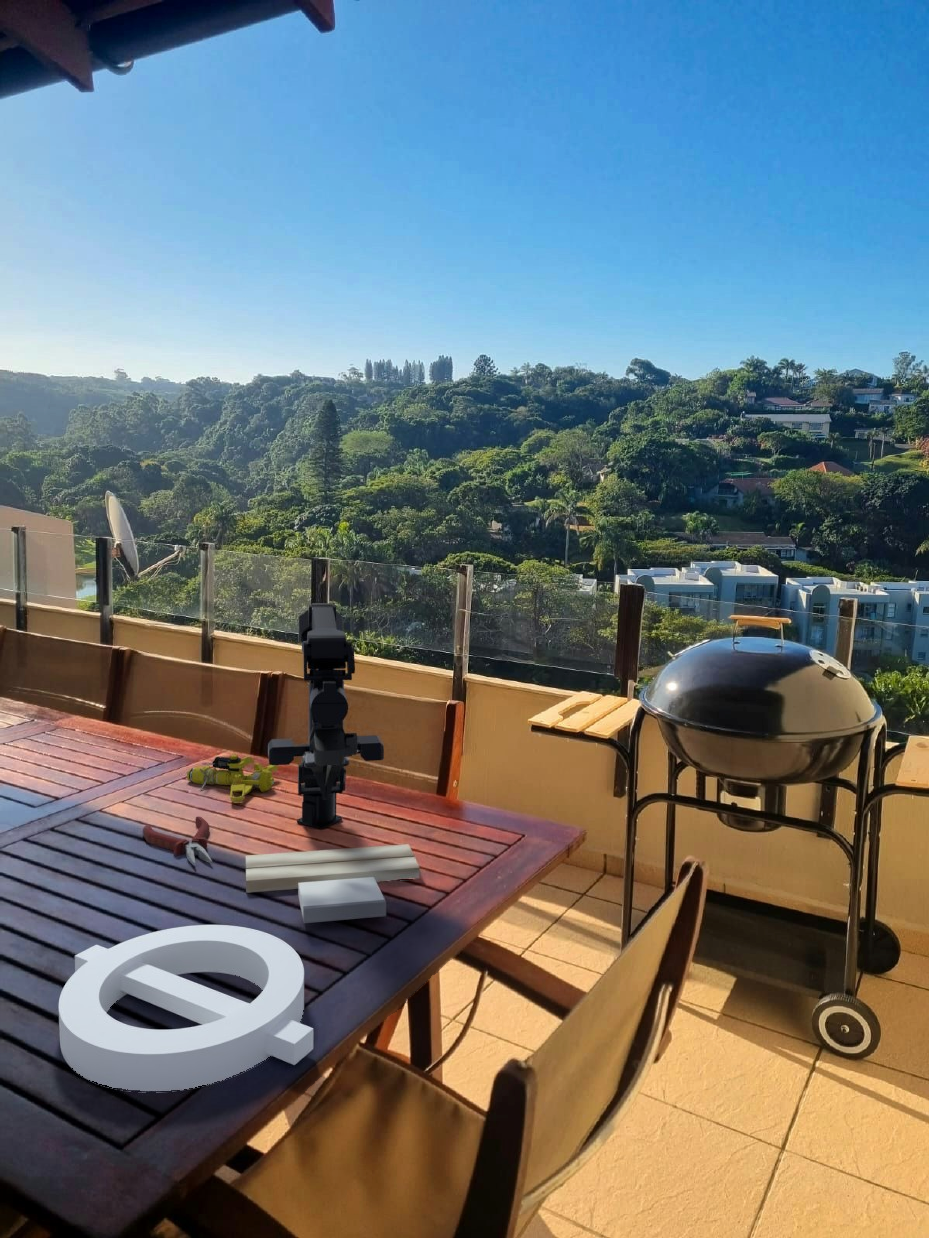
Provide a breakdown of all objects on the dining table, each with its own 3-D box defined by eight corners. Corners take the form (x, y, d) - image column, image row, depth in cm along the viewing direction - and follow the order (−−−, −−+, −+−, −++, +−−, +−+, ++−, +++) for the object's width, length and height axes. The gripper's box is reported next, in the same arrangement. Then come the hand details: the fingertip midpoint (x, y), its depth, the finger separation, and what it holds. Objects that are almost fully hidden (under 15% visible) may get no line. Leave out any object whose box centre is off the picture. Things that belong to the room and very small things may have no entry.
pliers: (169, 878, 145) (169, 862, 145) (140, 836, 162) (140, 823, 161) (237, 864, 151) (237, 850, 151) (202, 826, 168) (202, 813, 168)
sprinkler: (207, 740, 198) (288, 746, 193) (209, 772, 200) (290, 779, 195) (158, 769, 180) (246, 776, 175) (160, 804, 182) (248, 812, 177)
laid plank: (245, 866, 149) (245, 854, 149) (408, 854, 156) (408, 843, 156) (246, 892, 140) (246, 879, 139) (419, 878, 146) (419, 866, 146)
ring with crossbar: (317, 1071, 98) (317, 1031, 97) (40, 1115, 90) (39, 1072, 89) (291, 946, 124) (292, 914, 124) (76, 971, 116) (75, 938, 115)
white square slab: (298, 882, 139) (303, 908, 127) (373, 876, 142) (386, 901, 130) (298, 895, 139) (303, 923, 127) (373, 889, 142) (386, 915, 130)
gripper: (270, 724, 135) (270, 820, 138) (390, 720, 140) (388, 813, 143) (267, 705, 146) (268, 795, 149) (379, 702, 151) (377, 789, 153)
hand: (325, 798), depth 148 cm, fingers closed
